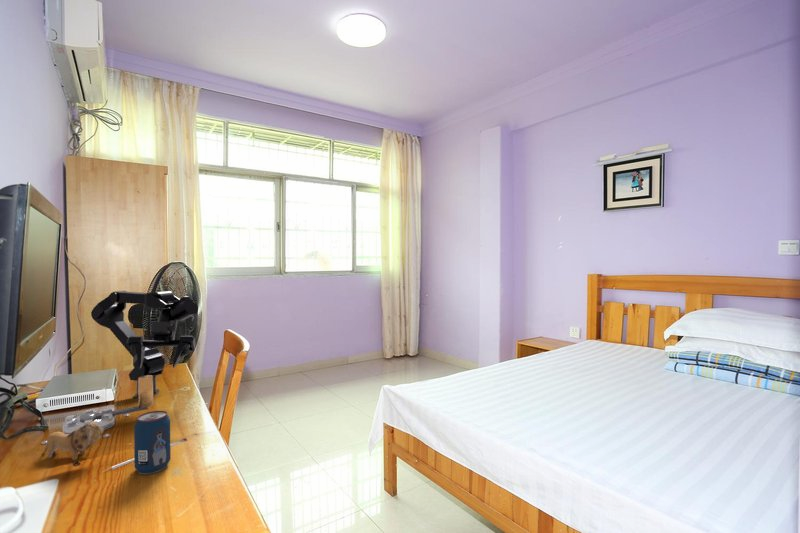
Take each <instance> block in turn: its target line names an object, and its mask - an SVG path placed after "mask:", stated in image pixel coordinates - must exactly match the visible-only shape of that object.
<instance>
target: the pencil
mask: <svg viewBox="0 0 800 533" xmlns="http://www.w3.org/2000/svg"><path fill="white" fill-rule="evenodd" d="M187 441H188V439H187V438H183V439H181V440H178V441H176V442H173V443H170V448H171V447H174V446H176V445H179V444H181V443H184V442H187ZM133 462H134V457H133V458H130V459H129V460H126V461H124V462H120V463H118V464H115V465H113V466H111V467H109V468H107V469H105V470H104V471H103V473H106V472H108V471H112V470H115V469H117V468H119V467H123V466H125V465H127V464H130V463H133Z"/></svg>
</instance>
